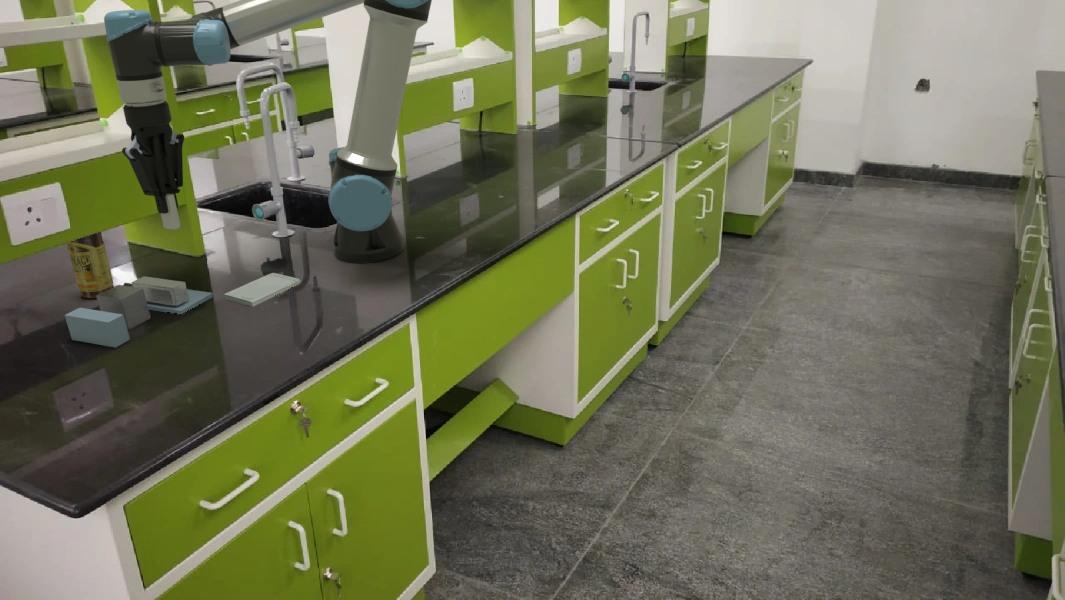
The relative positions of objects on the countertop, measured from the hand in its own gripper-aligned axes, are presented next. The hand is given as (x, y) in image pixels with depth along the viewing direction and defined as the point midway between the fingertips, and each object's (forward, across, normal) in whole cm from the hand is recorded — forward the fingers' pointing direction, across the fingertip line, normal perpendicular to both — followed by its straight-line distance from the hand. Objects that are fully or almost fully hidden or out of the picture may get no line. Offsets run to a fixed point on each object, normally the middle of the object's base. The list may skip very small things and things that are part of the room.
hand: (172, 227), depth 154 cm
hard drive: (+14, +5, -14) cm, 21 cm away
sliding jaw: (+12, -7, +1) cm, 14 cm away
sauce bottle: (+14, -6, +17) cm, 22 cm away
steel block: (+14, -14, +1) cm, 20 cm away
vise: (+13, -12, 0) cm, 18 cm away
